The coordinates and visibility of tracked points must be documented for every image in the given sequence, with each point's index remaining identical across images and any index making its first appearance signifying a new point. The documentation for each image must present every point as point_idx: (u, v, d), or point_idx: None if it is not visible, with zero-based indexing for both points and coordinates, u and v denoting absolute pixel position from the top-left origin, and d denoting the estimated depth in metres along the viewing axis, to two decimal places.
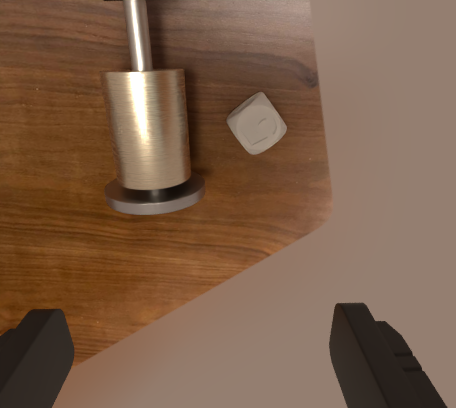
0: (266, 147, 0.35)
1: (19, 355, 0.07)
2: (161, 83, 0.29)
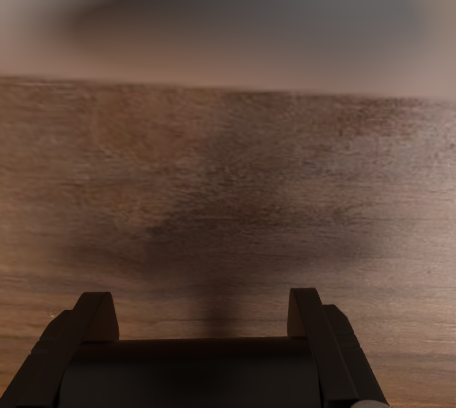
0: None
1: (82, 331, 0.08)
2: None
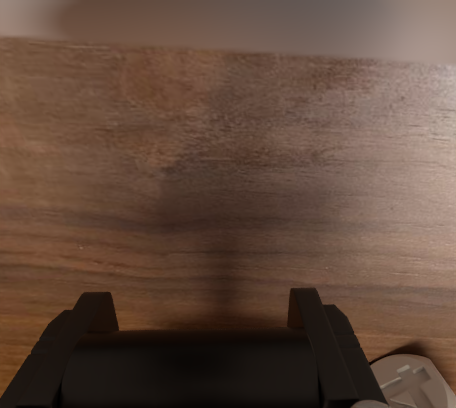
0: None
1: (81, 331, 0.08)
2: None
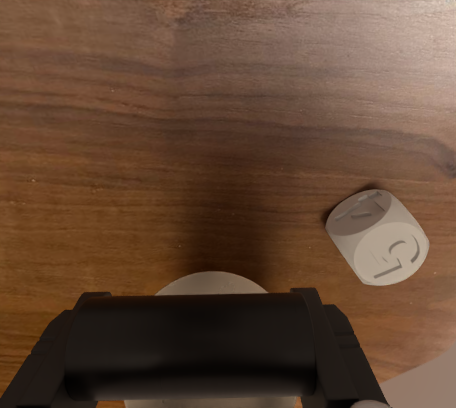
0: (397, 281, 0.22)
1: None
2: None
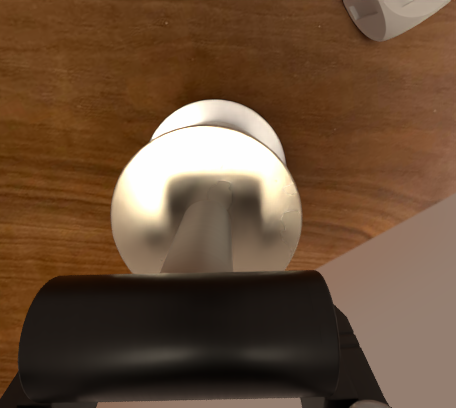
0: (429, 11, 0.18)
1: None
2: None
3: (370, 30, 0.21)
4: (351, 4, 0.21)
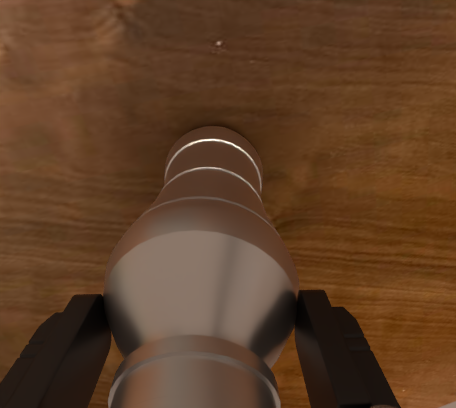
0: None
1: (71, 334, 0.08)
2: None
3: None
4: None
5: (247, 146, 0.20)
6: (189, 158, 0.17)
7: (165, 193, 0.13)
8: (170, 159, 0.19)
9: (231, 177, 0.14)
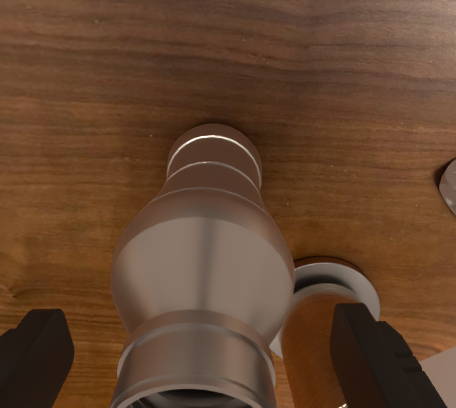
0: None
1: (19, 355, 0.07)
2: None
3: None
4: (449, 199, 0.25)
5: (247, 143, 0.21)
6: (191, 153, 0.17)
7: (168, 185, 0.13)
8: (172, 155, 0.20)
9: (231, 171, 0.15)
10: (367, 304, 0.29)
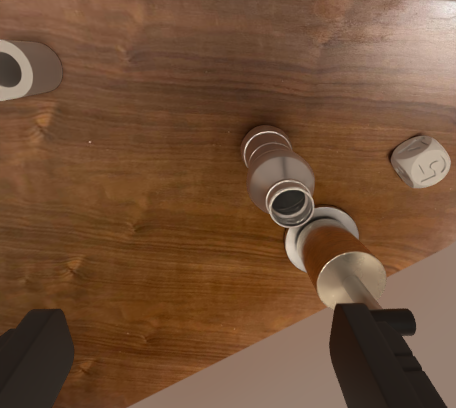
0: (433, 183, 0.41)
1: (19, 355, 0.07)
2: None
3: (405, 180, 0.44)
4: (396, 168, 0.44)
5: (285, 135, 0.40)
6: (262, 139, 0.37)
7: (261, 151, 0.32)
8: (247, 141, 0.39)
9: (285, 146, 0.34)
10: (351, 233, 0.48)
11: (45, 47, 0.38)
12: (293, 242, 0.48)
